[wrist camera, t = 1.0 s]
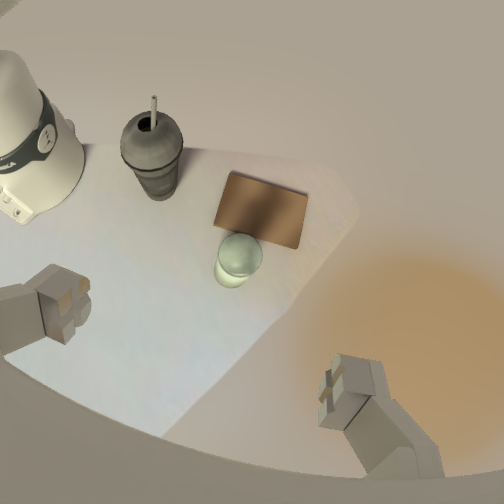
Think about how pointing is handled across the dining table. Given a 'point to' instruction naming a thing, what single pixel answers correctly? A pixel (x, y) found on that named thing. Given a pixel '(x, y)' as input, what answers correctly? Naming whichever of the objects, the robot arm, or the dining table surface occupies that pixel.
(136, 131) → the beverage cup
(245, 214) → the walnut board
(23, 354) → the dining table surface
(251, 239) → the sage tube
